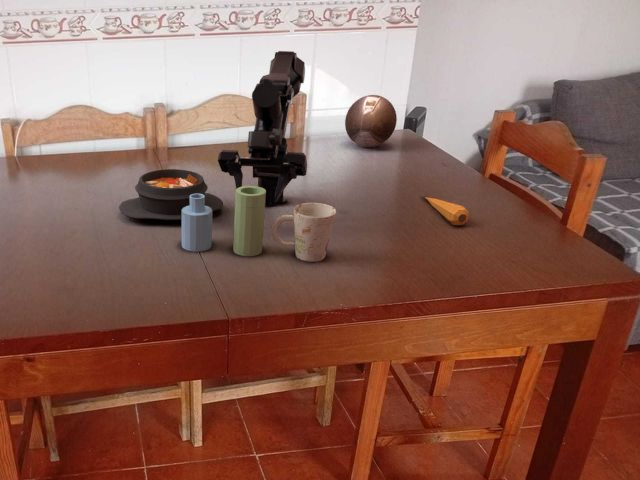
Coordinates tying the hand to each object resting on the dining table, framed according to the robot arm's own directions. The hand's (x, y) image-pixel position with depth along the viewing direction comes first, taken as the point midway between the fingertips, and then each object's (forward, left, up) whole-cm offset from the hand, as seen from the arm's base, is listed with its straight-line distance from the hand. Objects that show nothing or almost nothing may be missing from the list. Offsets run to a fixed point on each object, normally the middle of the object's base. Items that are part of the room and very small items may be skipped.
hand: (257, 199), depth 149 cm
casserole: (-22, -9, -9) cm, 25 cm away
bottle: (-2, -14, -8) cm, 16 cm away
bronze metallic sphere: (-42, +71, -9) cm, 83 cm away
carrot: (+10, +47, -9) cm, 49 cm away
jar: (+6, -6, -8) cm, 12 cm away
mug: (+13, +2, -9) cm, 16 cm away
